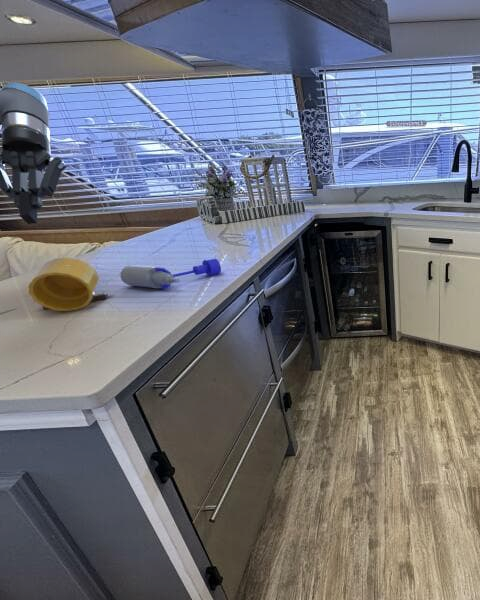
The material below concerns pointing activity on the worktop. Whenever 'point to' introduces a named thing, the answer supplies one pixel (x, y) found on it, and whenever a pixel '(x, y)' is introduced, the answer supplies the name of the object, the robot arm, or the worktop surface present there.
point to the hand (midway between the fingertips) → (28, 219)
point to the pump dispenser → (163, 274)
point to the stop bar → (95, 297)
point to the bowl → (64, 284)
